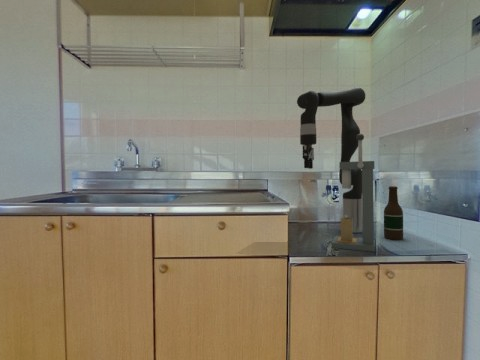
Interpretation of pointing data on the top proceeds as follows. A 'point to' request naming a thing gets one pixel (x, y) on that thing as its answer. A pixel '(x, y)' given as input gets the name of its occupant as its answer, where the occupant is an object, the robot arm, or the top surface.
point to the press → (367, 202)
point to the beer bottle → (393, 217)
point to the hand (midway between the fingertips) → (308, 168)
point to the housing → (346, 228)
